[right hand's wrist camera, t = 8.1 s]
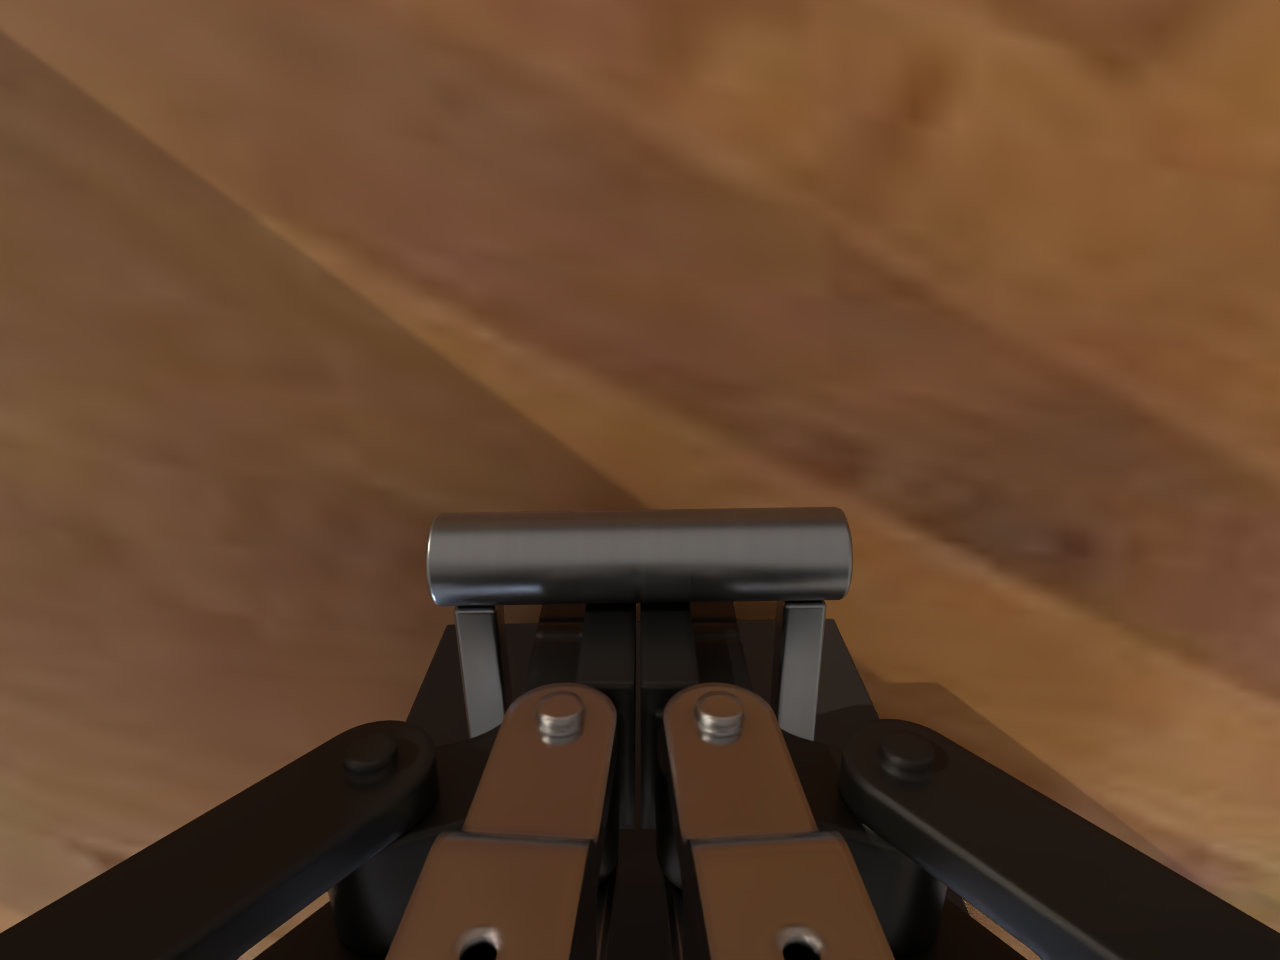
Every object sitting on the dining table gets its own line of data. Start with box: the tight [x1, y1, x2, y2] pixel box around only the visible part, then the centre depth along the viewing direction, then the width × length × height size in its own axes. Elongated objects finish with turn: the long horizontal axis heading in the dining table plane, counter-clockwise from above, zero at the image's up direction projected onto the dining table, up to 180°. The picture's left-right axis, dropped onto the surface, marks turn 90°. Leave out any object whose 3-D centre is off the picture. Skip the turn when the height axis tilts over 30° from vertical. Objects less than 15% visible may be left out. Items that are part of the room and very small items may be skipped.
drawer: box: [406, 507, 970, 960], centre depth 16 cm, size 23×10×9 cm, turn 1°
